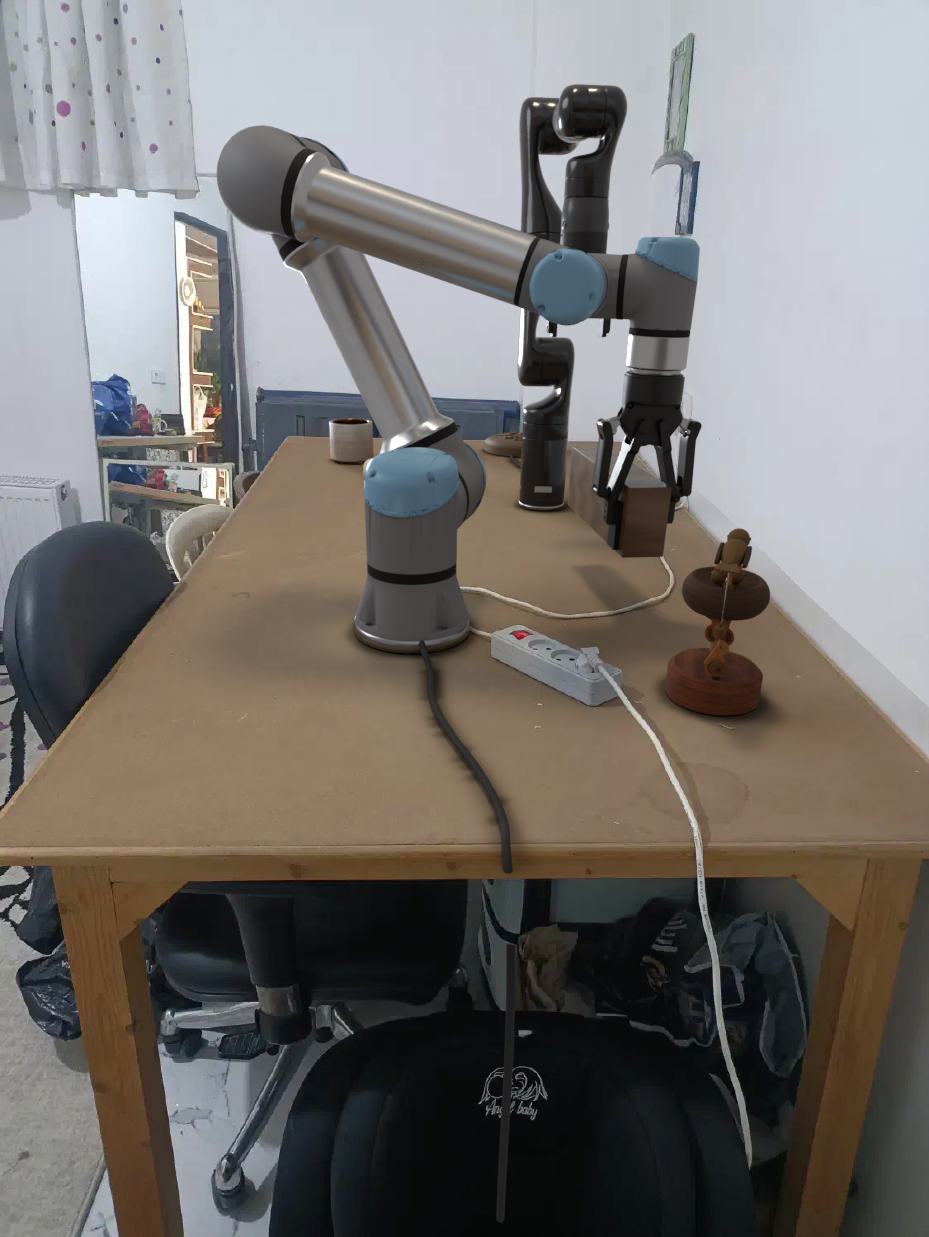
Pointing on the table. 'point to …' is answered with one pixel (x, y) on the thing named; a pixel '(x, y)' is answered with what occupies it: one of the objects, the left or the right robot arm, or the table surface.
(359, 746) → the table surface
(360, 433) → the planter
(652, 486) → the bar
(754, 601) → the music box
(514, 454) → the brown flat oval slab
